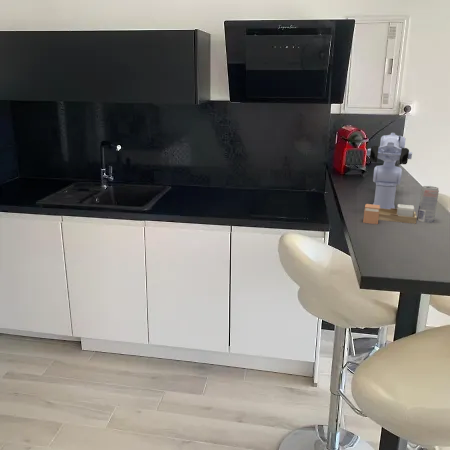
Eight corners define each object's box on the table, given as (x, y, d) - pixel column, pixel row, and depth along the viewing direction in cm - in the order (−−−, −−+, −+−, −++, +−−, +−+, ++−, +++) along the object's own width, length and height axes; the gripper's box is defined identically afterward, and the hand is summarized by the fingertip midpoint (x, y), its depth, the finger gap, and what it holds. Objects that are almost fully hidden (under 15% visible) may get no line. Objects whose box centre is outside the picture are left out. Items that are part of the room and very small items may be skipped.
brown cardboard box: (363, 220, 157) (365, 203, 155) (377, 222, 156) (380, 205, 154) (362, 224, 153) (364, 207, 151) (377, 226, 151) (379, 208, 149)
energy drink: (429, 220, 160) (434, 186, 156) (436, 224, 155) (442, 189, 151) (414, 219, 160) (419, 185, 156) (421, 224, 154) (426, 189, 151)
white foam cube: (396, 216, 161) (397, 204, 160) (411, 218, 159) (413, 205, 158) (396, 220, 156) (397, 207, 155) (412, 221, 155) (414, 208, 153)
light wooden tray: (372, 214, 165) (373, 206, 165) (414, 218, 161) (415, 210, 160) (371, 220, 157) (372, 212, 156) (415, 225, 153) (416, 216, 152)
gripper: (370, 137, 164) (366, 146, 152) (413, 140, 159) (413, 150, 147) (367, 156, 167) (364, 167, 155) (410, 159, 162) (409, 171, 150)
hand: (387, 160), depth 151 cm, fingers open, 7 cm apart
